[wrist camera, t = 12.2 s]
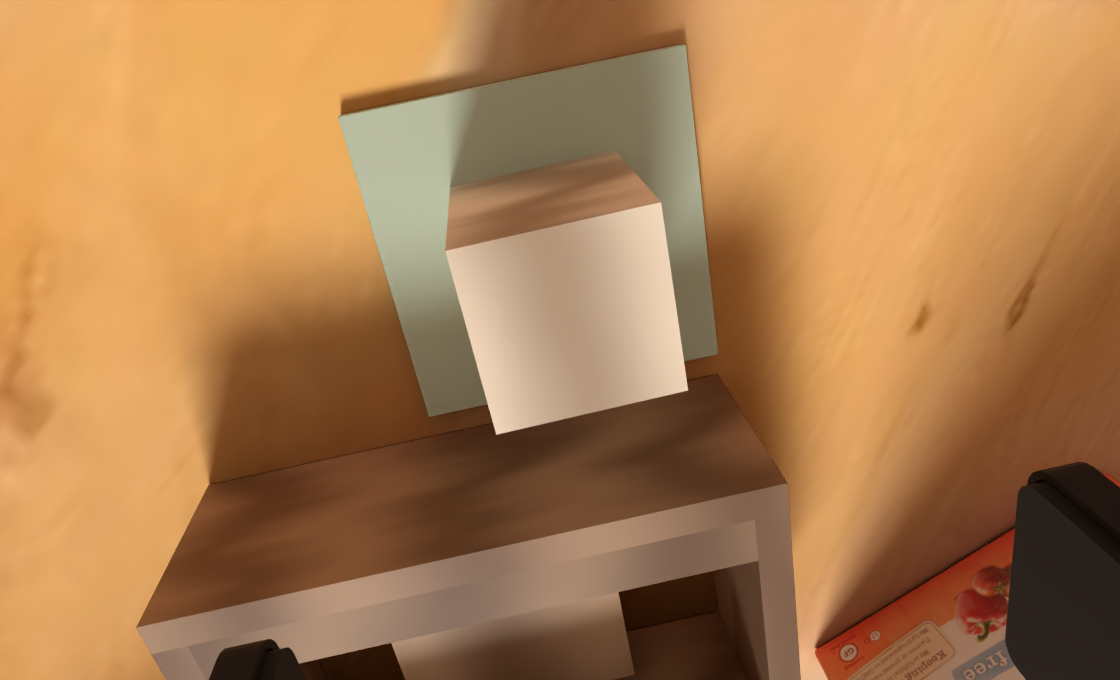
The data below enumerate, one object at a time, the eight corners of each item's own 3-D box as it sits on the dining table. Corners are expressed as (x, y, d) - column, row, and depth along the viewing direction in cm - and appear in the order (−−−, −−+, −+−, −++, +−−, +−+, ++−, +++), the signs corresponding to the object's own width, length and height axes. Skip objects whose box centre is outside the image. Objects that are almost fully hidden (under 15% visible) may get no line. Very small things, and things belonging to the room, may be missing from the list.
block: (614, 149, 23) (661, 202, 17) (639, 302, 25) (688, 390, 20) (449, 187, 23) (445, 251, 17) (489, 336, 25) (496, 434, 20)
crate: (717, 374, 27) (787, 483, 21) (744, 623, 32) (806, 766, 26) (208, 485, 27) (135, 627, 21) (318, 719, 32) (285, 886, 26)
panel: (682, 43, 22) (685, 44, 22) (714, 349, 27) (718, 354, 26) (340, 114, 22) (338, 117, 22) (429, 411, 26) (428, 417, 26)
